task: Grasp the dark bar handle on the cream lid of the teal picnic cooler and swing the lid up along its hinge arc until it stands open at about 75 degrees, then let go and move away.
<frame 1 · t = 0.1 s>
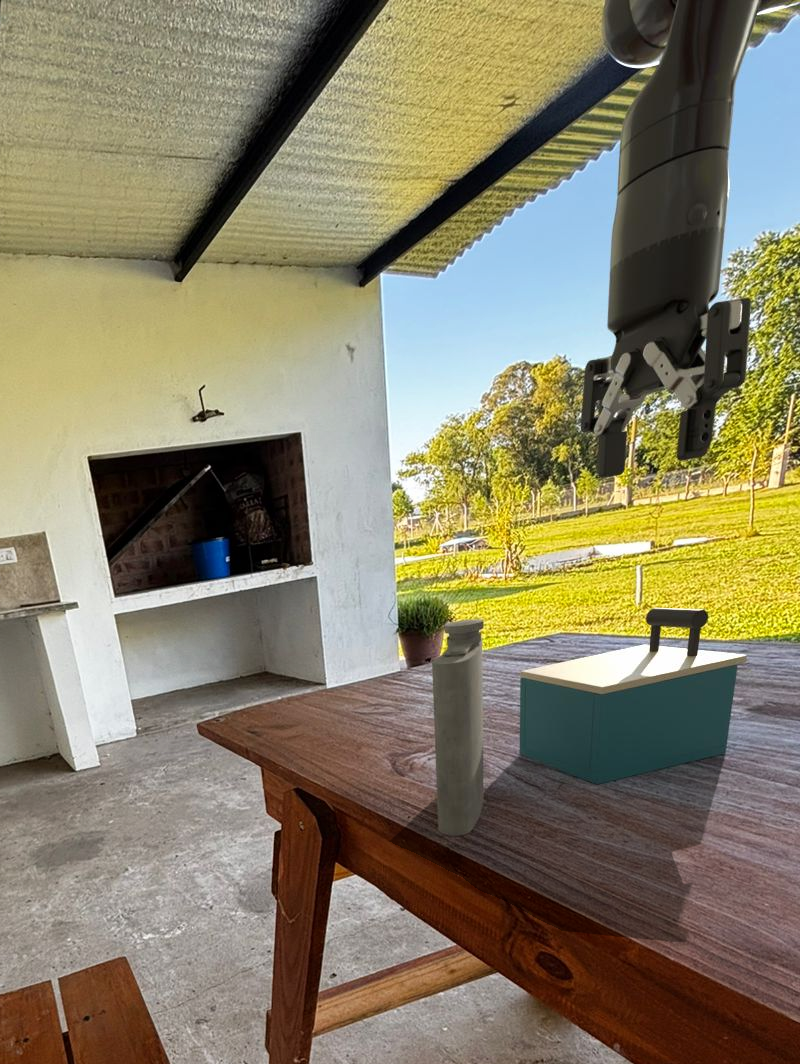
hand: (648, 468, 56), 31 cm above the table, tool pointing down, fingers open, 8 cm apart
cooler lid: (626, 645, 69), point 13 cm above the table, hinge at 0.0°
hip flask: (464, 806, 68), on the table
cooler: (615, 753, 74), on the table
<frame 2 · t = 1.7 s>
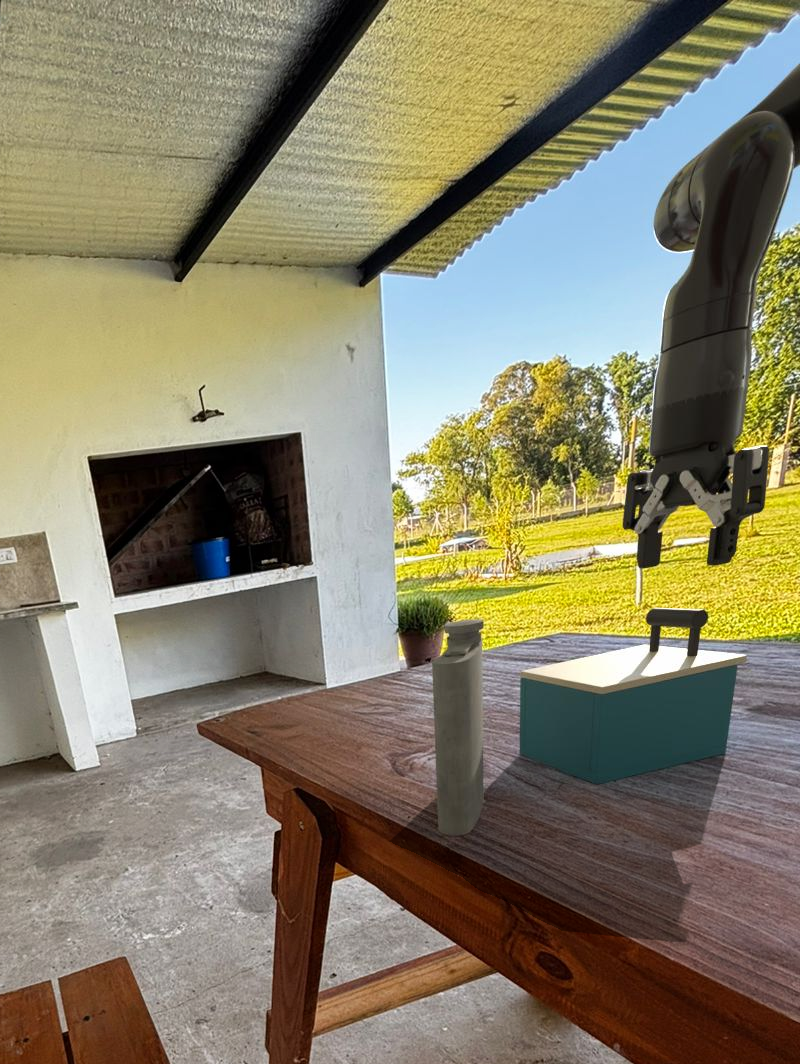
hand: (681, 566, 67), 20 cm above the table, tool pointing down, fingers open, 8 cm apart
nothing on the table moved.
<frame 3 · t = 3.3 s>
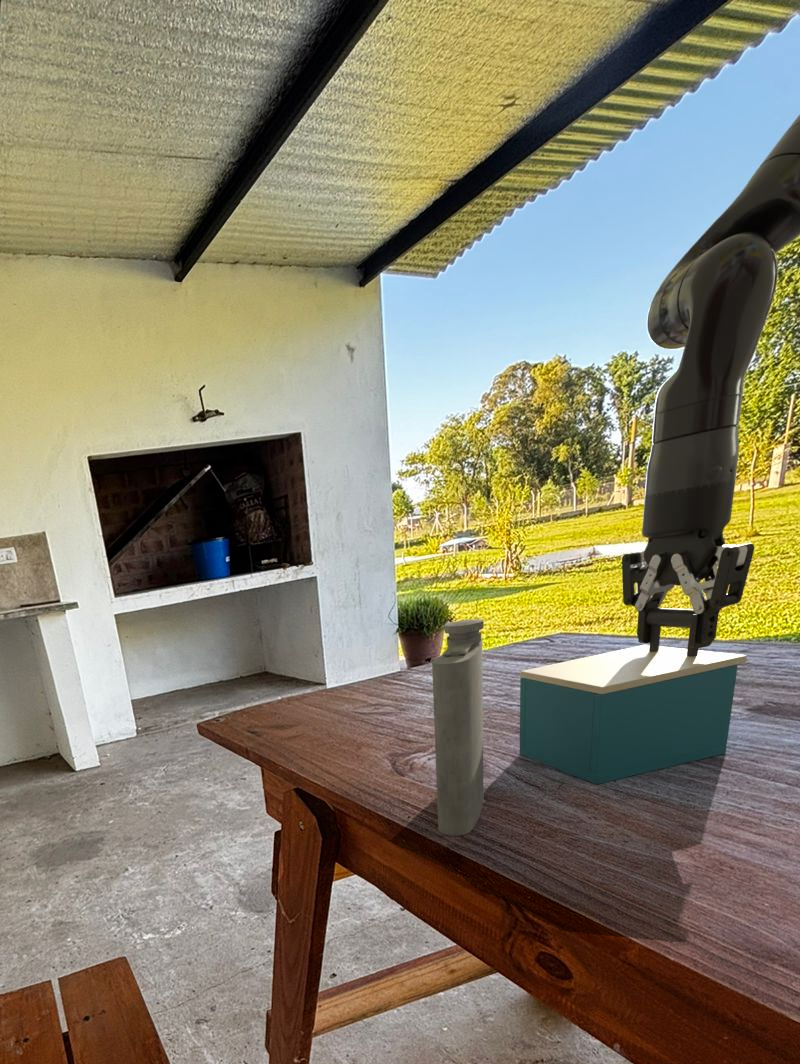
hand: (672, 644, 70), 12 cm above the table, tool pointing down, fingers closed on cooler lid, 6 cm apart
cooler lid: (626, 645, 69), point 13 cm above the table, hinge at 0.0°, touching gripper
everything else where it was.
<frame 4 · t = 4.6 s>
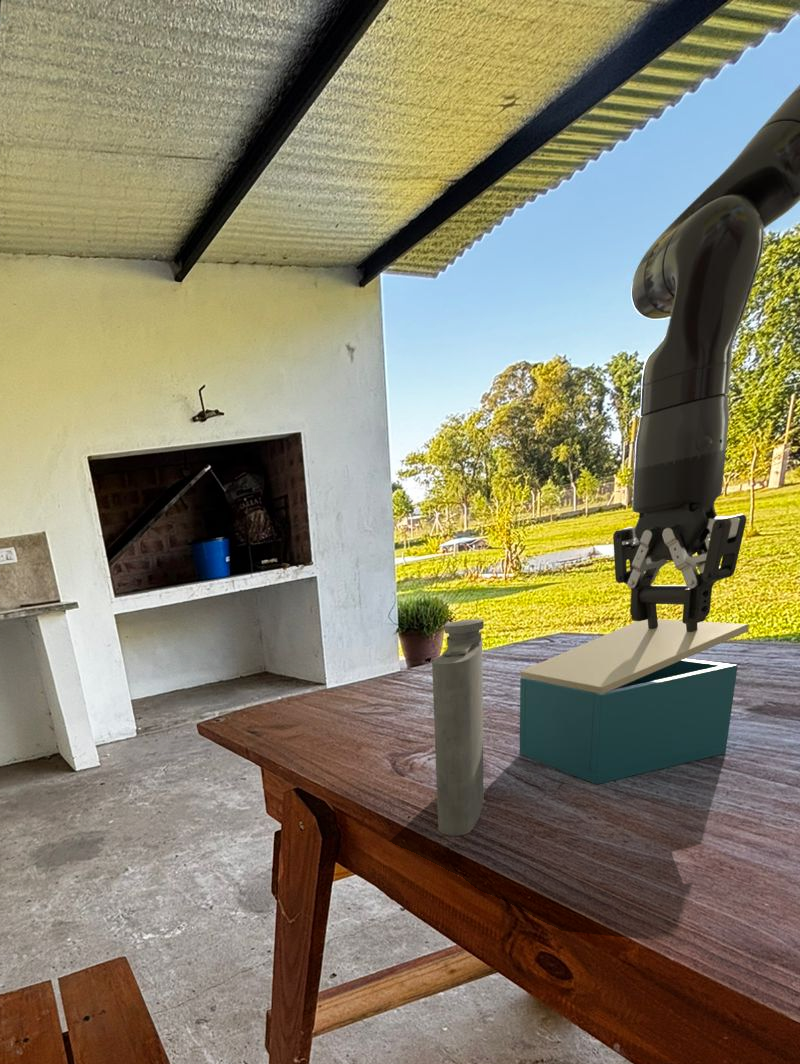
hand: (666, 620, 69), 15 cm above the table, tool pointing down, fingers closed on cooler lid, 6 cm apart
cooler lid: (622, 631, 69), point 15 cm above the table, hinge at 11.2°, touching gripper
everything else where it was.
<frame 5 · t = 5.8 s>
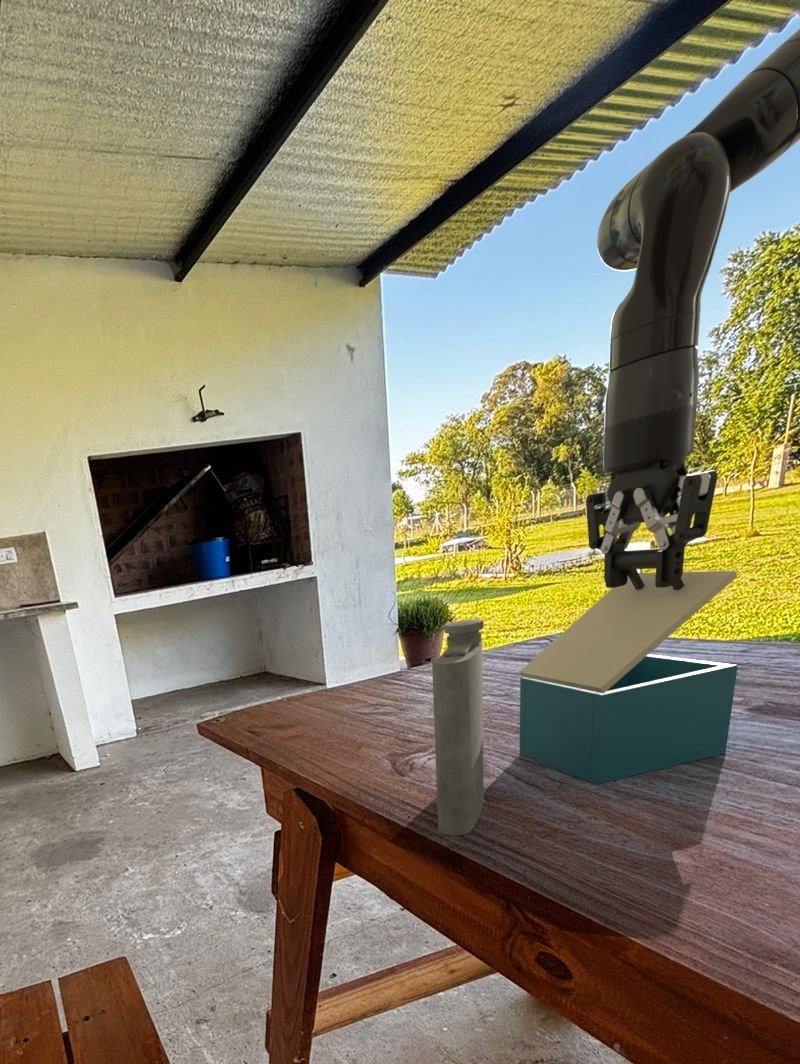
hand: (640, 585, 67), 19 cm above the table, tool pointing down, fingers closed on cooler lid, 6 cm apart
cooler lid: (607, 611, 68), point 17 cm above the table, hinge at 32.5°, touching gripper
everything else where it was.
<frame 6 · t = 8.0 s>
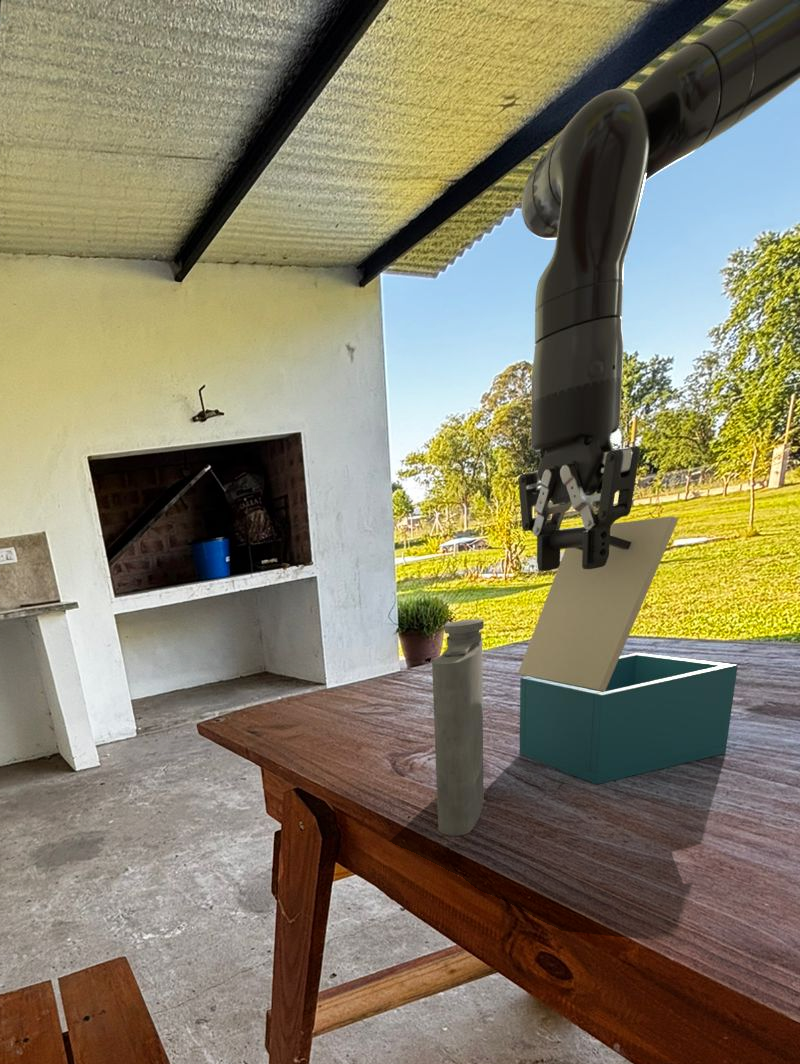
hand: (570, 568, 65), 23 cm above the table, tool pointing down, fingers closed on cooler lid, 6 cm apart
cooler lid: (569, 600, 66), point 19 cm above the table, hinge at 66.4°, touching gripper
everything else where it was.
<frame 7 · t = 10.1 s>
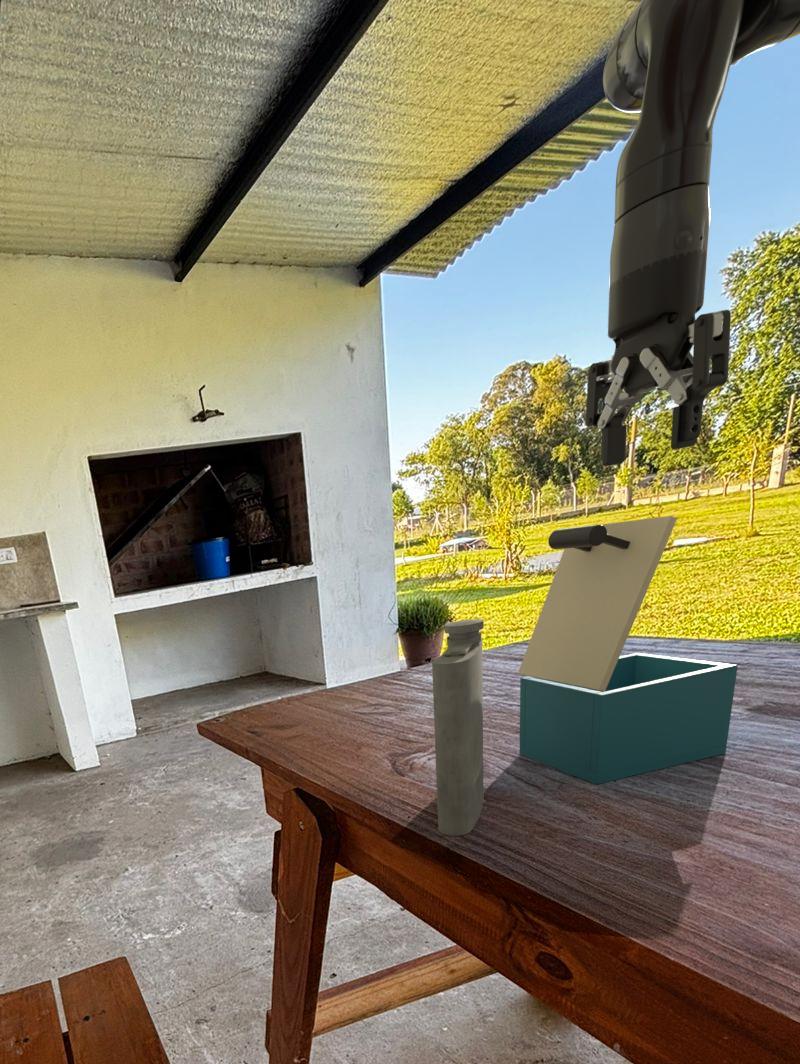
hand: (646, 456, 64), 32 cm above the table, tool pointing down, fingers open, 8 cm apart
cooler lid: (568, 600, 66), point 19 cm above the table, hinge at 66.9°
everything else where it was.
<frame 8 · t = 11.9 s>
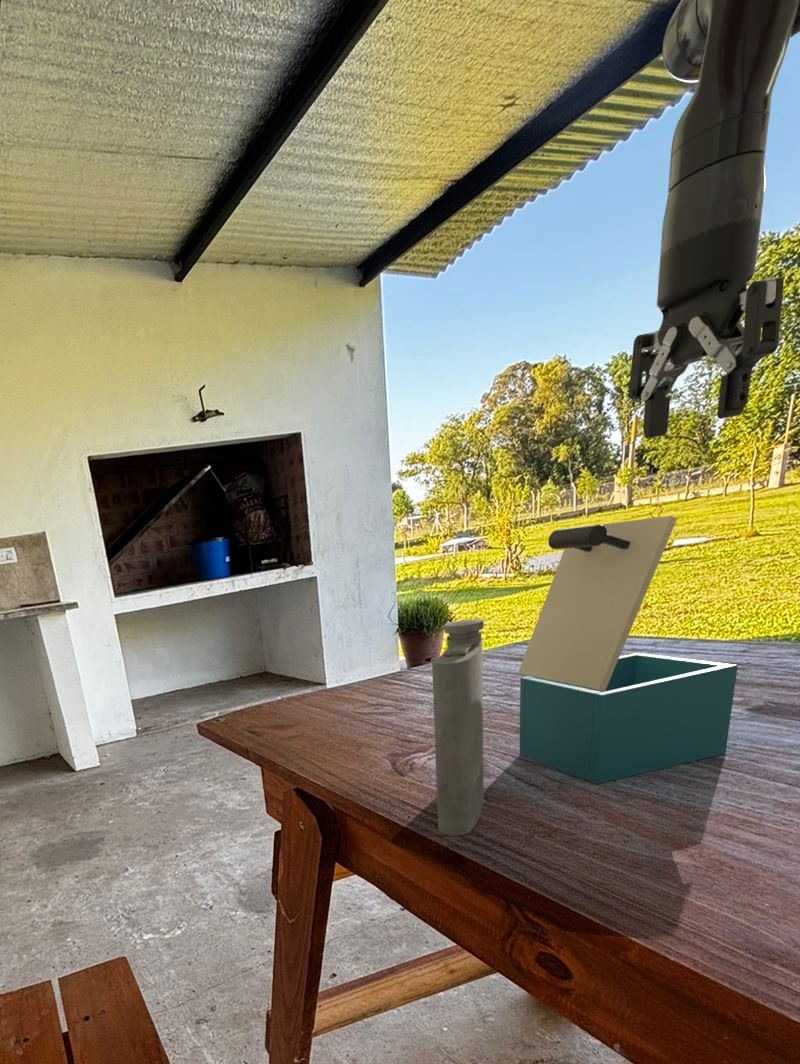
hand: (690, 427, 64), 34 cm above the table, tool pointing down, fingers open, 8 cm apart
nothing on the table moved.
at the end: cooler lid at +67° (first picture: +0°); the gripper is holding nothing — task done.
